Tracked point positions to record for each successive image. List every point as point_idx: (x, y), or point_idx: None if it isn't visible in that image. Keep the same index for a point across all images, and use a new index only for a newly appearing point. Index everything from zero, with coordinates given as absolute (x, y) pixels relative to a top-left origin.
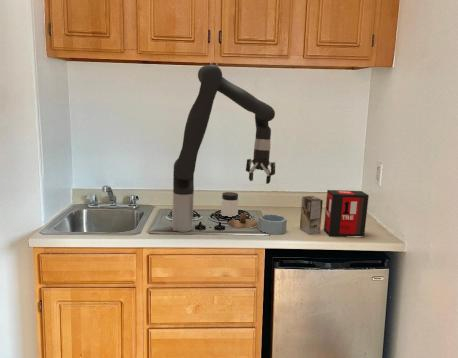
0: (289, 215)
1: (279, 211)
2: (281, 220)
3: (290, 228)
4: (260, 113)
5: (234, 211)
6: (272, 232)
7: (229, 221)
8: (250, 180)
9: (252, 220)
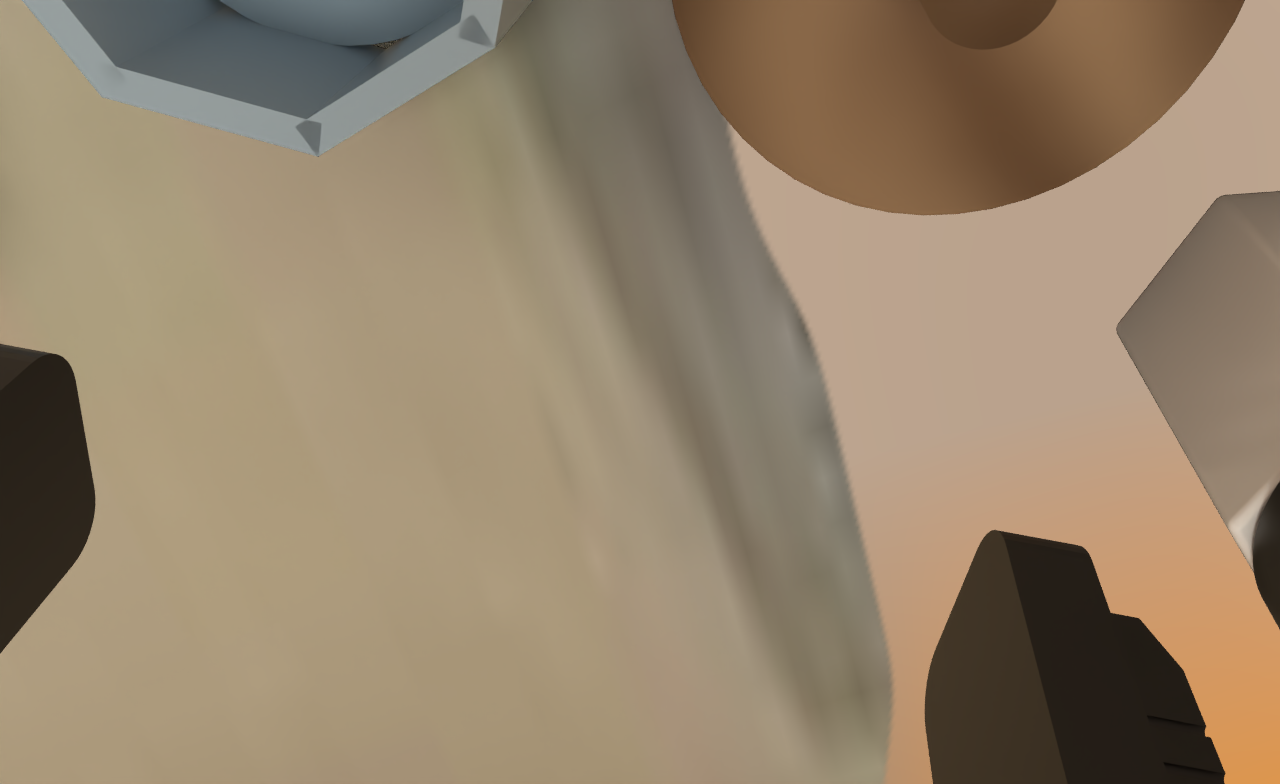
0: (388, 673)
1: (563, 776)
2: (165, 46)
3: None
4: None
5: (1218, 304)
6: None
7: None
8: (1036, 539)
9: (803, 173)
